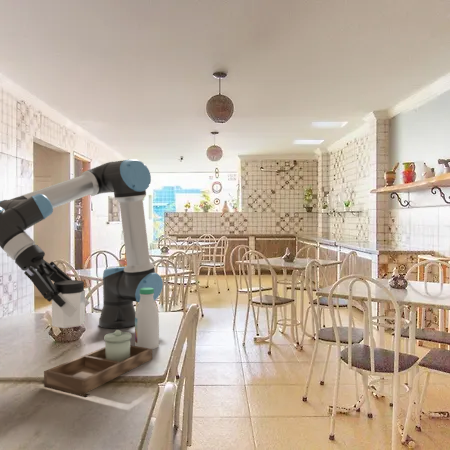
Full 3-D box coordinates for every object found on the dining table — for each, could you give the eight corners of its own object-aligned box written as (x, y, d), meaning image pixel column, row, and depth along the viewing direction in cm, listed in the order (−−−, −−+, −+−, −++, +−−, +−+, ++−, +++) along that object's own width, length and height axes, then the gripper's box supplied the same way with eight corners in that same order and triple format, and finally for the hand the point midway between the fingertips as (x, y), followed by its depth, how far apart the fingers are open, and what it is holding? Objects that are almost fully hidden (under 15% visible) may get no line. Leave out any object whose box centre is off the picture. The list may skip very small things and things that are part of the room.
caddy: (115, 355, 132) (115, 342, 132) (152, 362, 126) (152, 348, 126) (44, 386, 108) (44, 371, 108) (85, 397, 102) (84, 380, 102)
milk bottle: (163, 347, 140) (163, 287, 140) (150, 354, 133) (149, 291, 133) (144, 344, 144) (144, 285, 143) (130, 350, 137) (129, 289, 136)
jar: (54, 329, 114) (54, 285, 114) (49, 323, 121) (49, 281, 121) (88, 325, 119) (88, 283, 119) (81, 319, 126) (81, 279, 126)
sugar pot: (116, 356, 128) (116, 325, 128) (136, 360, 125) (136, 328, 124) (98, 364, 121) (98, 331, 121) (119, 369, 118) (119, 334, 118)
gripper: (35, 258, 131) (85, 310, 131) (-7, 265, 110) (53, 328, 109) (51, 241, 131) (102, 293, 130) (13, 245, 109) (73, 308, 109)
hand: (79, 309), depth 120 cm, fingers closed on jar, 9 cm apart
